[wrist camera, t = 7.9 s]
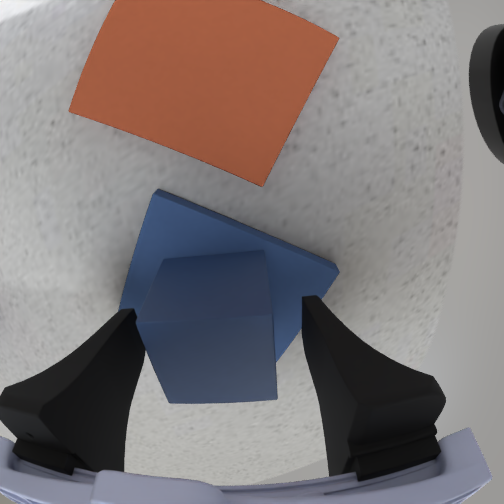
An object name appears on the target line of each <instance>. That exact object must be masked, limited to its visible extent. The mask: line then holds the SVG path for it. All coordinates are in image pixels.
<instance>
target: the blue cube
mask: <svg viewBox="0 0 504 504" xmlns="http://www.w3.org/2000/svg"><path fill="white" fill-rule="evenodd" d="M136 325H137V328H138V331H139V333H140V336H141V339H142V341H143V344H144V346H145V349H146V351H147V354H148V356H149V359H150V361H151V363H152V366H153V368H154V371H155V373H156V375H157V378H158V380H159V382H160V384H161V387H162V389H163V391H164V393H165V395H166V398H167V400H168V402H169V403H177V404H205V403H236V402H253V401H266V400H277V398H278V396H277V376H276V357H275V339H274V321H273V310H272V303H271V295H270V288H269V280H268V273H267V265H266V258H265V251H264V250H260V251H249V252H238V253H226V254H215V255H204V256H192V257H181V258H169V259H163V261H162V263H161V265H160V267H159V270H158V272H157V274H156V276H155V278H154V281H153V283H152V285H151V287H150V290H149V292H148V294H147V296H146V299H145V301H144V303H143V306H142V308H141V310H140V313H139V315H138V317H137V320H136Z"/></svg>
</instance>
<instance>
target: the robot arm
mask: <svg viewBox="0 0 504 504" xmlns="http://www.w3.org/2000/svg"><path fill="white" fill-rule="evenodd" d="M499 107H500V110H501V112H502V113H503V114H504V91H503V94H502V96H501V99H500V102H499ZM136 320H137V315H136V312H135V309H134V308H129V309H121V310H120V311H119V312H117V313H116V314H115V315H114V316H113V317H112V318H111V319H110V320H108V321H107V322H106V323H105V324H104V325H103V326H102V327H101V328H100V329H99V330H98V331H97V332H96V333H94V334H93V335H92V336H91V337H90V338H89V339H88V340H86V341H85V342H84V343H83V344H82V345H81V346H80V347H78V348H77V349H76V350H75V351H73V352H72V353H71V354H69V355H68V356H67V357H65V358H64V359H62V360H61V361H59V362H58V363H56V364H55V365H53V366H51V367H50V368H48V369H46V370H45V371H43V372H41V373H39V374H37V375H35V376H33V377H31V378H29V379H26V380H24V381H22V382H19V383H16V384H13V385H11V386H8V387H5V388H4V390H3V392H2V394H1V396H0V420H1V421H2V423H3V424H4V425H5V426H6V427H7V428H8V429H9V430H10V431H11V432H12V433H13V434H14V435H15V436H16V437H17V441H16V443H14V442H13V441H11V440H9V439H7V438H4V437H2V436H0V493H2V494H3V495H4V496H6V497H7V498H9V499H10V500H12V501H14V502H16V503H18V504H460V503H462V502H463V501H465V500H466V499H467V498H469V497H470V496H471V495H473V494H474V493H475V492H477V491H478V490H479V489H481V488H482V487H483V486H484V485H485V484H487V483H488V482H489V481H490V480H492V475H491V472H490V470H489V468H488V465H487V463H486V461H485V459H484V456H483V454H482V452H481V450H480V448H479V445H478V443H477V441H476V439H475V437H474V435H473V433H472V431H471V429H470V428H466V429H463V430H460V431H458V432H456V433H453V434H450V435H448V436H446V437H444V438H442V439H441V440H439V441H438V442H437V439H436V437H435V435H436V434H437V429H436V427H435V425H434V423H435V422H436V420H437V418H438V416H439V415H440V413H441V412H442V410H443V408H444V405H445V403H446V397H445V395H444V394H443V391H442V389H441V388H440V386H439V384H438V383H437V381H436V380H435V378H434V377H433V376H431V375H428V374H425V373H422V372H419V371H416V370H414V369H411V368H409V367H407V366H404V365H402V364H400V363H398V362H396V361H394V360H392V359H390V358H388V357H387V356H385V355H383V354H382V353H380V352H378V351H377V350H375V349H374V348H372V347H371V346H369V345H368V344H367V343H365V342H364V341H362V340H361V339H360V338H359V337H357V336H356V335H355V334H354V333H353V332H352V331H351V330H349V329H348V328H347V327H346V326H345V325H344V324H343V323H342V322H341V321H340V320H339V319H338V318H337V317H336V316H335V315H334V314H333V313H332V312H331V310H330V309H329V308H328V307H327V306H326V305H325V304H324V303H323V301H322V300H321V299H320V298H319V297H318V296H317V295H311V296H302V339H303V345H304V351H305V356H306V359H307V362H308V366H309V369H310V373H311V376H312V379H313V383H314V386H315V389H316V393H317V396H318V401H319V405H320V411H321V417H322V423H323V430H324V437H325V444H326V452H327V460H328V469H329V477H325V478H318V479H312V480H304V481H296V482H288V483H276V484H265V485H241V486H213V485H212V484H208V483H205V482H201V481H197V480H189V479H181V478H168V477H157V476H148V475H140V474H133V473H126V472H124V457H125V441H126V431H127V424H128V417H129V411H130V406H131V402H132V399H133V395H134V392H135V389H136V386H137V382H138V379H139V376H140V373H141V369H142V366H143V363H144V357H145V351H146V349H145V346H144V344H143V341H142V339H141V336H140V333H139V331H138V328H137V325H136Z"/></svg>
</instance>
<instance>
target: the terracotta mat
mask: <svg viewBox="0 0 504 504" xmlns="http://www.w3.org/2000/svg"><path fill="white" fill-rule="evenodd" d="M338 40H339V37H337V36H335V35H333V34H332V33H330V32H328V31H326V30H324V29H322V28H320V27H318V26H317V25H315V24H313V23H311V22H309V21H307V20H304V19H302V18H300V17H298V16H296V15H294V14H292V13H290V12H287V11H285V10H283V9H281V8H278V7H276V6H273V5H271V4H269V3H266V2H264V1H261V0H115V2H114V3H113V5H112V7H111V9H110V11H109V13H108V15H107V17H106V19H105V21H104V23H103V25H102V27H101V29H100V31H99V33H98V36H97V38H96V40H95V42H94V45H93V47H92V49H91V51H90V54H89V56H88V59H87V61H86V64H85V66H84V69H83V71H82V74H81V76H80V79H79V82H78V85H77V87H76V90H75V93H74V96H73V99H72V102H71V105H70V108H69V112H71V113H74V114H77V115H80V116H83V117H86V118H89V119H92V120H95V121H98V122H100V123H103V124H106V125H109V126H112V127H115V128H117V129H120V130H123V131H126V132H128V133H131V134H134V135H137V136H139V137H142V138H145V139H147V140H150V141H153V142H155V143H158V144H160V145H163V146H166V147H168V148H171V149H173V150H176V151H178V152H181V153H183V154H186V155H188V156H191V157H193V158H196V159H198V160H200V161H203V162H205V163H208V164H210V165H212V166H215V167H217V168H220V169H222V170H224V171H227V172H229V173H231V174H234V175H236V176H238V177H240V178H243V179H245V180H247V181H250V182H252V183H254V184H256V185H259V186H261V187H262V186H263V185H264V183H265V181H266V179H267V177H268V175H269V173H270V171H271V169H272V167H273V165H274V163H275V161H276V159H277V157H278V155H279V153H280V151H281V149H282V147H283V145H284V143H285V141H286V140H287V138H288V136H289V134H290V132H291V130H292V128H293V126H294V124H295V122H296V120H297V118H298V116H299V114H300V112H301V110H302V108H303V106H304V104H305V103H306V101H307V99H308V97H309V95H310V93H311V91H312V89H313V87H314V85H315V83H316V81H317V80H318V78H319V76H320V74H321V72H322V70H323V68H324V66H325V64H326V62H327V61H328V59H329V57H330V55H331V53H332V51H333V49H334V47H335V46H336V44H337V42H338Z"/></svg>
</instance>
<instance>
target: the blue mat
mask: <svg viewBox="0 0 504 504" xmlns="http://www.w3.org/2000/svg"><path fill="white" fill-rule="evenodd" d="M260 250H264V251H265V258H266V265H267V273H268V280H269V288H270V295H271V303H272V310H273V321H274V339H275V357H276V362H277V361H278V360H279V358H280V357H281V356H282V354H283V353H284V351H285V350H286V349H287V347H288V346H289V345H290V343H291V342H292V341H293V339H294V338H295V336H296V335H297V334H298V332H299V331H300V330H301V328H302V296H311V295H317V296H318V297H319V298H320V299H322V298H323V297H324V295H325V294H326V292H327V291H328V289H329V288H330V286H331V285H332V283H333V282H334V280H335V279H336V277H337V276H338V274H339V272H340V271H339V269H338V268H337V266H336V264H334V263H332V262H330V261H328V260H325V259H323V258H321V257H319V256H316V255H314V254H312V253H309V252H307V251H305V250H303V249H300V248H298V247H296V246H293V245H291V244H289V243H286V242H284V241H282V240H280V239H277V238H275V237H273V236H270V235H268V234H266V233H263V232H261V231H259V230H256V229H254V228H251V227H249V226H247V225H244V224H242V223H240V222H237V221H235V220H233V219H230V218H228V217H225V216H223V215H221V214H218V213H216V212H213V211H211V210H209V209H206V208H204V207H201V206H199V205H197V204H194V203H192V202H189V201H187V200H184V199H182V198H179V197H177V196H175V195H172V194H170V193H167V192H165V191H162V190H160V189H157V190H156V191H155V192H154V193H153V195H152V198H151V201H150V204H149V207H148V210H147V213H146V216H145V219H144V222H143V225H142V228H141V231H140V234H139V237H138V241H137V244H136V247H135V251H134V254H133V257H132V261H131V264H130V268H129V271H128V275H127V279H126V282H125V286H124V290H123V294H122V298H121V302H120V306H119V310H118V312H119V311H120V310H121V309H129V308H134V309H135V312H136V315H137V317H138V315H139V313H140V310H141V308H142V306H143V303H144V301H145V299H146V296H147V294H148V292H149V290H150V287H151V285H152V283H153V281H154V278H155V276H156V274H157V272H158V270H159V267H160V265H161V263H162V261H163V259H169V258H181V257H192V256H204V255H215V254H226V253H238V252H249V251H260Z"/></svg>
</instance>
